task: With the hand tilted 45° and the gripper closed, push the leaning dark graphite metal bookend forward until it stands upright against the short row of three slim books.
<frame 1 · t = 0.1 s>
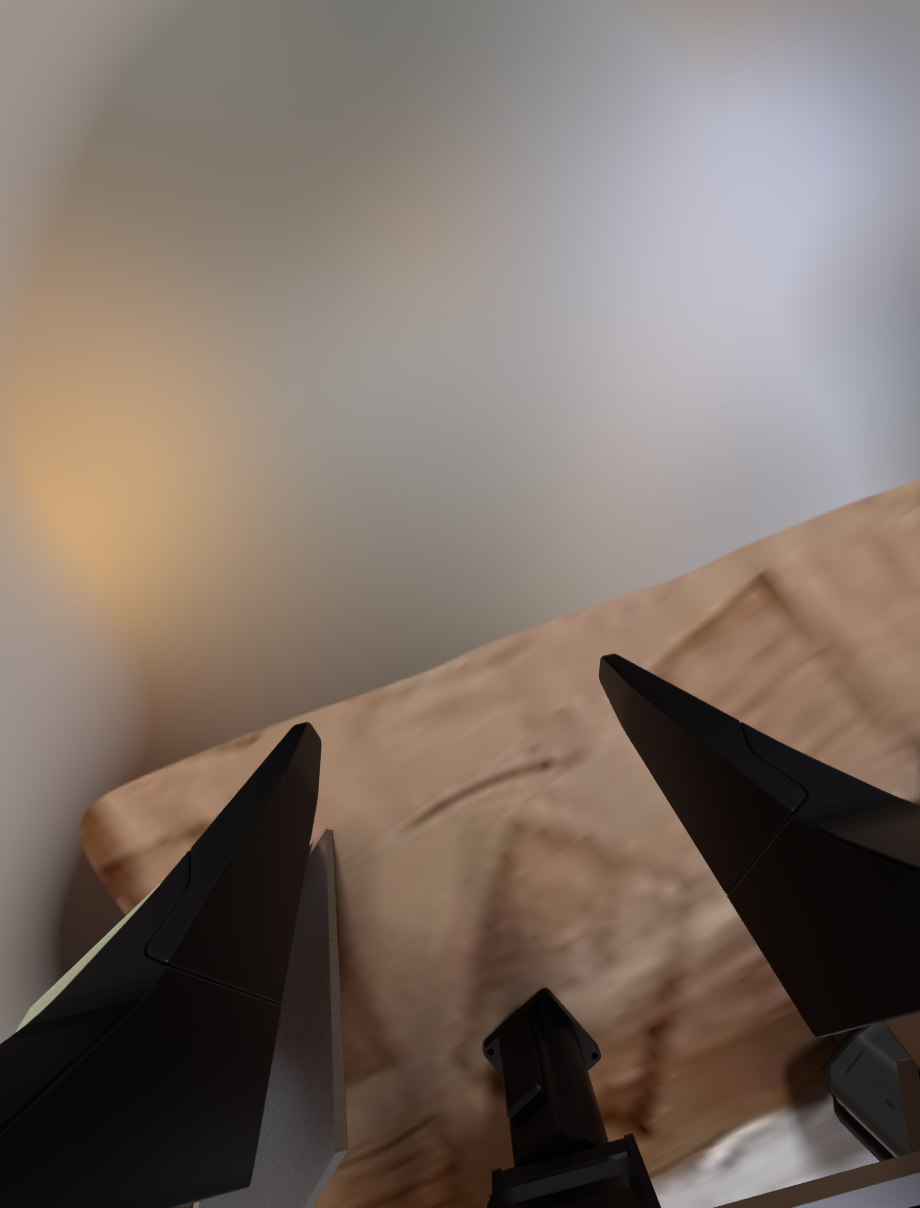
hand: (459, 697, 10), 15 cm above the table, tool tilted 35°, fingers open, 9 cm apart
bookend: (275, 1030, 18), point 7 cm above the table, hinge at -25.0°
book row: (289, 899, 25), on the table
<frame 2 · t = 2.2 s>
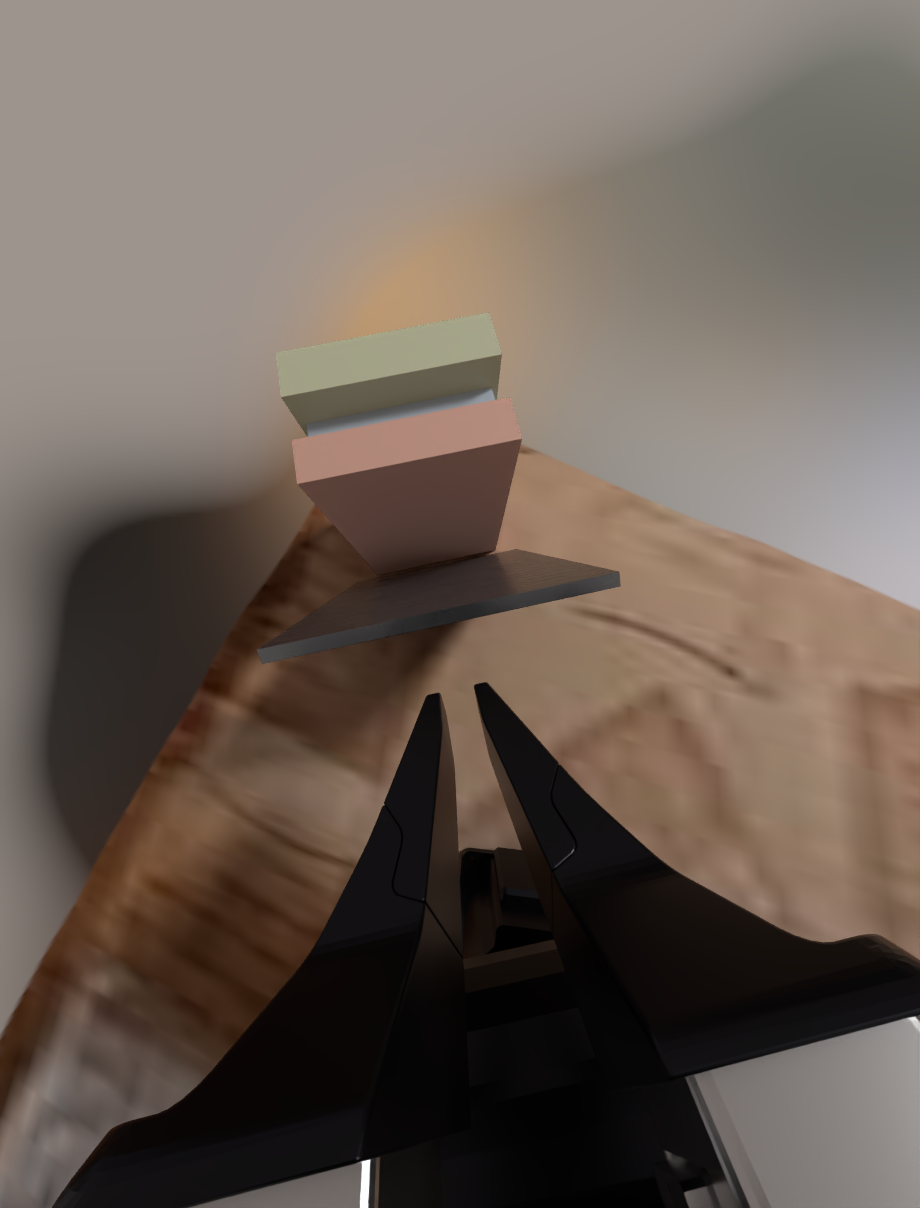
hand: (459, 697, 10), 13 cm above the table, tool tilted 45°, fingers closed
bookend: (439, 583, 18), point 7 cm above the table, hinge at -25.0°
book row: (438, 572, 25), on the table
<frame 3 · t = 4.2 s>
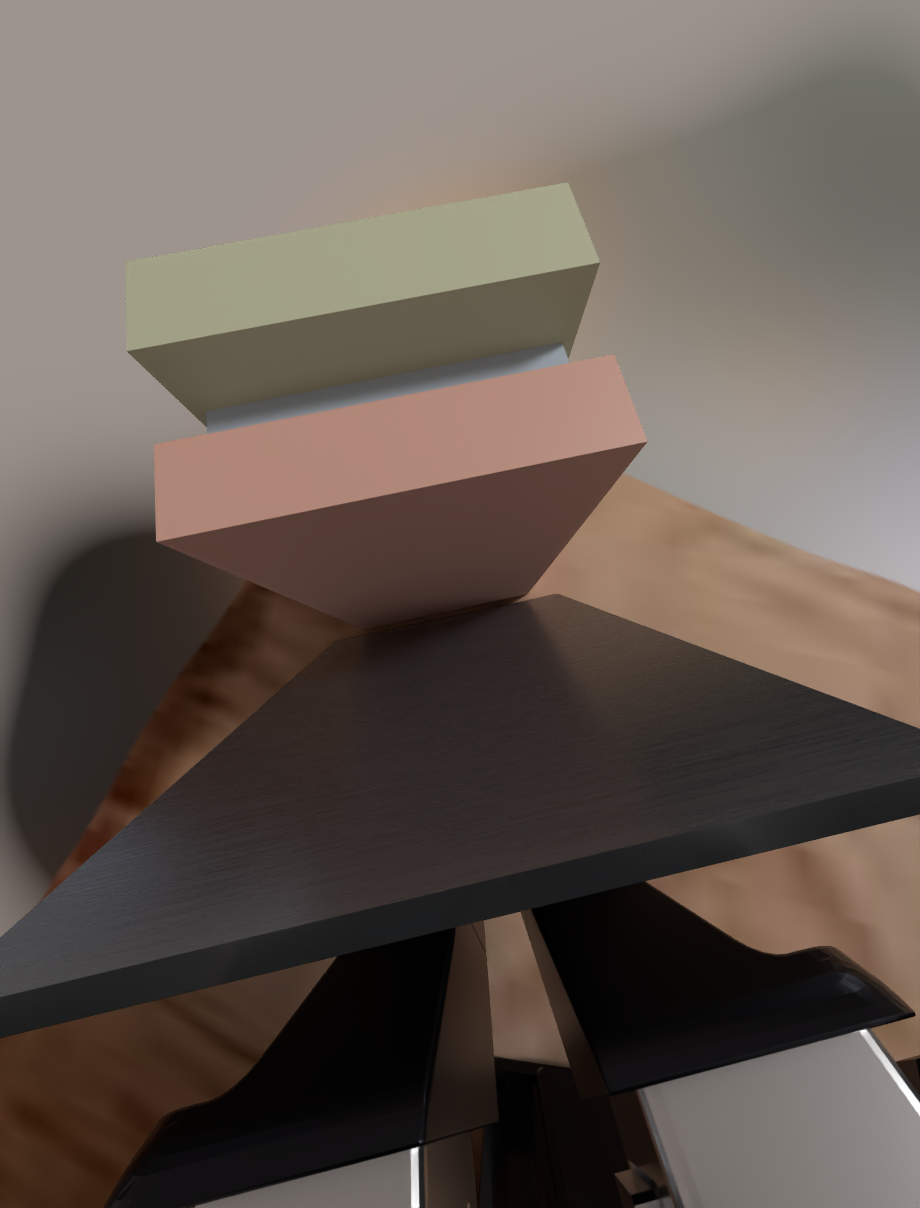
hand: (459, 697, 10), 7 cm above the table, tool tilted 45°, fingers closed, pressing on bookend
bookend: (453, 669, 10), point 7 cm above the table, hinge at -21.6°, touching gripper
book row: (448, 626, 18), on the table
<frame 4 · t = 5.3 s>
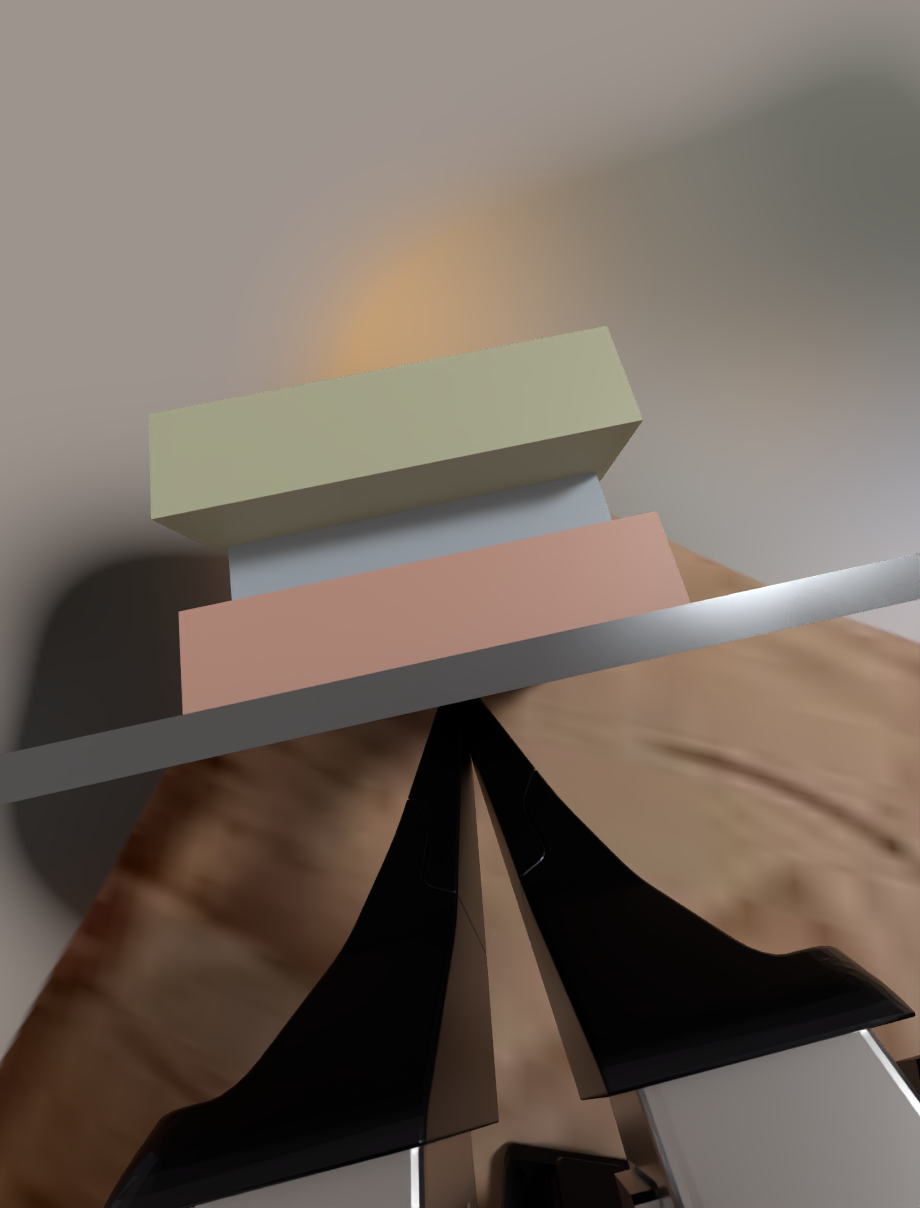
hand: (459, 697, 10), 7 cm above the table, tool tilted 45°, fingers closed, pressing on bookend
bookend: (456, 682, 10), point 7 cm above the table, hinge at 1.5°, touching book row, gripper
book row: (461, 686, 17), on the table
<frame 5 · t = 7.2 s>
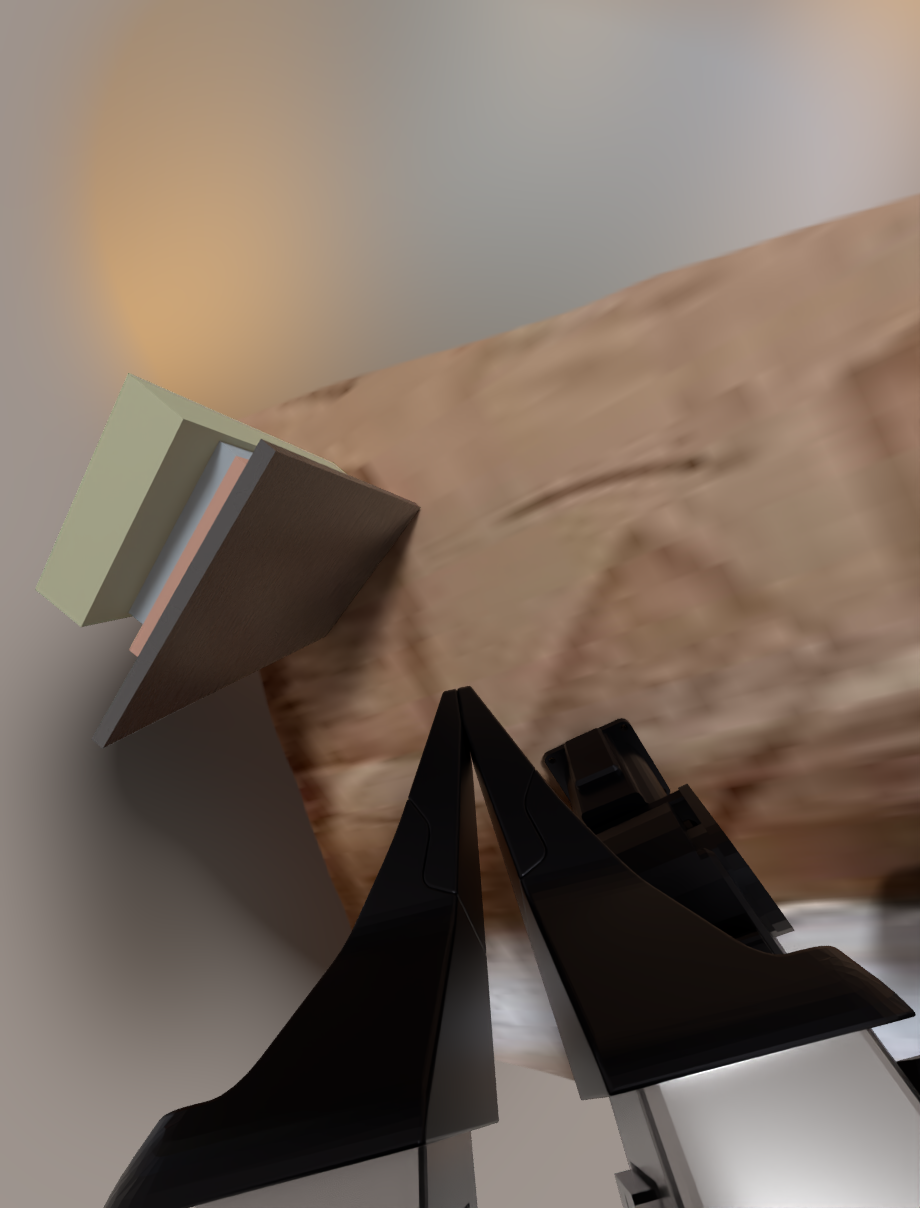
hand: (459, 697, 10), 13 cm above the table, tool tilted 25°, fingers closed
bookend: (309, 585, 17), point 7 cm above the table, hinge at 0.9°
book row: (370, 575, 24), on the table
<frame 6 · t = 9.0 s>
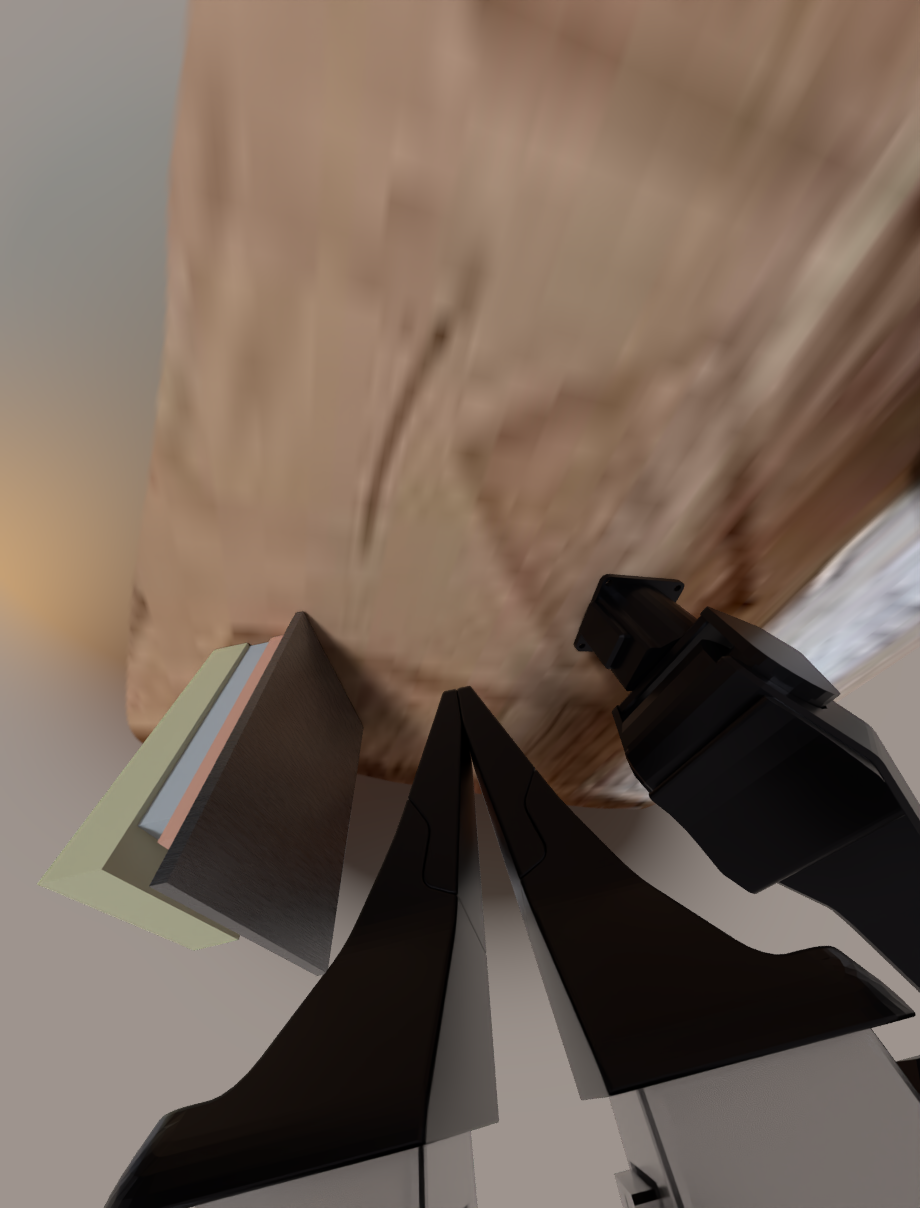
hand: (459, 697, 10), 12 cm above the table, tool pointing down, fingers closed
bookend: (309, 767, 18), point 7 cm above the table, hinge at 0.9°
book row: (337, 676, 24), on the table
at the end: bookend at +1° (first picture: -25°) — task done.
